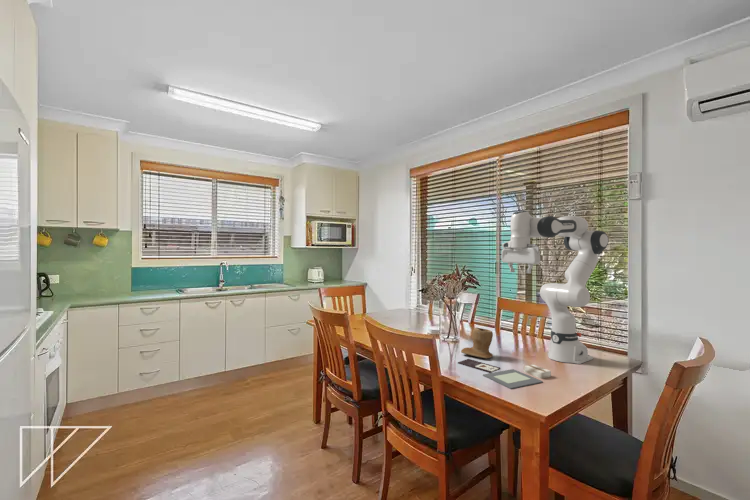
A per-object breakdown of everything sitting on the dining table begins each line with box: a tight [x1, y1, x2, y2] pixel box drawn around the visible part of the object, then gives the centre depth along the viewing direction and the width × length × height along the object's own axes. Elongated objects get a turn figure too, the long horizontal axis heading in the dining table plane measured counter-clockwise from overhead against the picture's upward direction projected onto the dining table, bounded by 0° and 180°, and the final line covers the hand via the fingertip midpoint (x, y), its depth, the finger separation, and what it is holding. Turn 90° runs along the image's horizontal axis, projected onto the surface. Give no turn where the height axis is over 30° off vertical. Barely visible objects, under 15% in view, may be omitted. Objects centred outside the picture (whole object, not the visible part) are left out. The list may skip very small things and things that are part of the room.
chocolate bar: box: [457, 358, 501, 374], centre depth 177 cm, size 9×1×18 cm
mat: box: [482, 368, 544, 390], centre depth 160 cm, size 18×17×1 cm
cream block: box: [523, 363, 552, 380], centre depth 166 cm, size 10×6×3 cm, turn 24°
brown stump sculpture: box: [461, 327, 494, 359], centre depth 193 cm, size 15×12×15 cm
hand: (520, 272), depth 175 cm, fingers open, 8 cm apart
